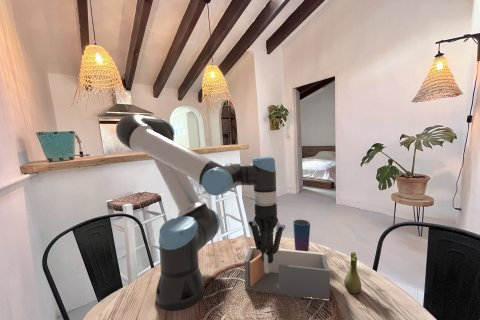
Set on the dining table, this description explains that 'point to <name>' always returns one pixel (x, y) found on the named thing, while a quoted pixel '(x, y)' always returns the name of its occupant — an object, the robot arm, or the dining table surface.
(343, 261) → the dining table surface
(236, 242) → the dining table surface
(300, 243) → the cup
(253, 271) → the box door
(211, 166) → the robot arm
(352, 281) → the fennel bulb
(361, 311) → the dining table surface
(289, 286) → the storage box
